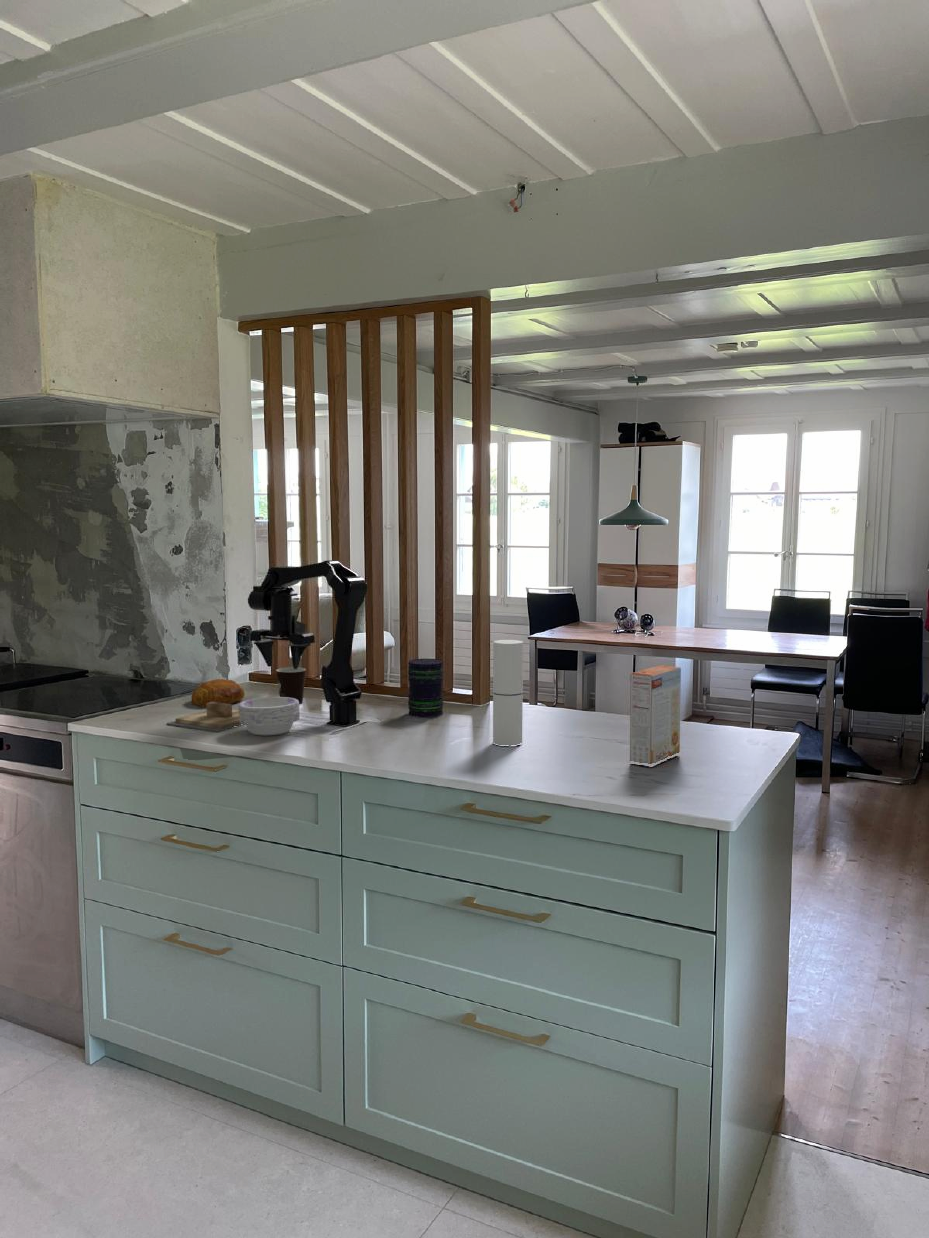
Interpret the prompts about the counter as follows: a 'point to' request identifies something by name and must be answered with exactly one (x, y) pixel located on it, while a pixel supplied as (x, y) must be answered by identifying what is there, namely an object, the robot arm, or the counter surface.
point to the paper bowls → (269, 715)
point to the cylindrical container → (507, 692)
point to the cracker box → (655, 713)
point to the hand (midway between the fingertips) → (282, 667)
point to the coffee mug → (291, 683)
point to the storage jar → (425, 688)
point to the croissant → (217, 692)
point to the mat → (199, 726)
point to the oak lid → (213, 716)
